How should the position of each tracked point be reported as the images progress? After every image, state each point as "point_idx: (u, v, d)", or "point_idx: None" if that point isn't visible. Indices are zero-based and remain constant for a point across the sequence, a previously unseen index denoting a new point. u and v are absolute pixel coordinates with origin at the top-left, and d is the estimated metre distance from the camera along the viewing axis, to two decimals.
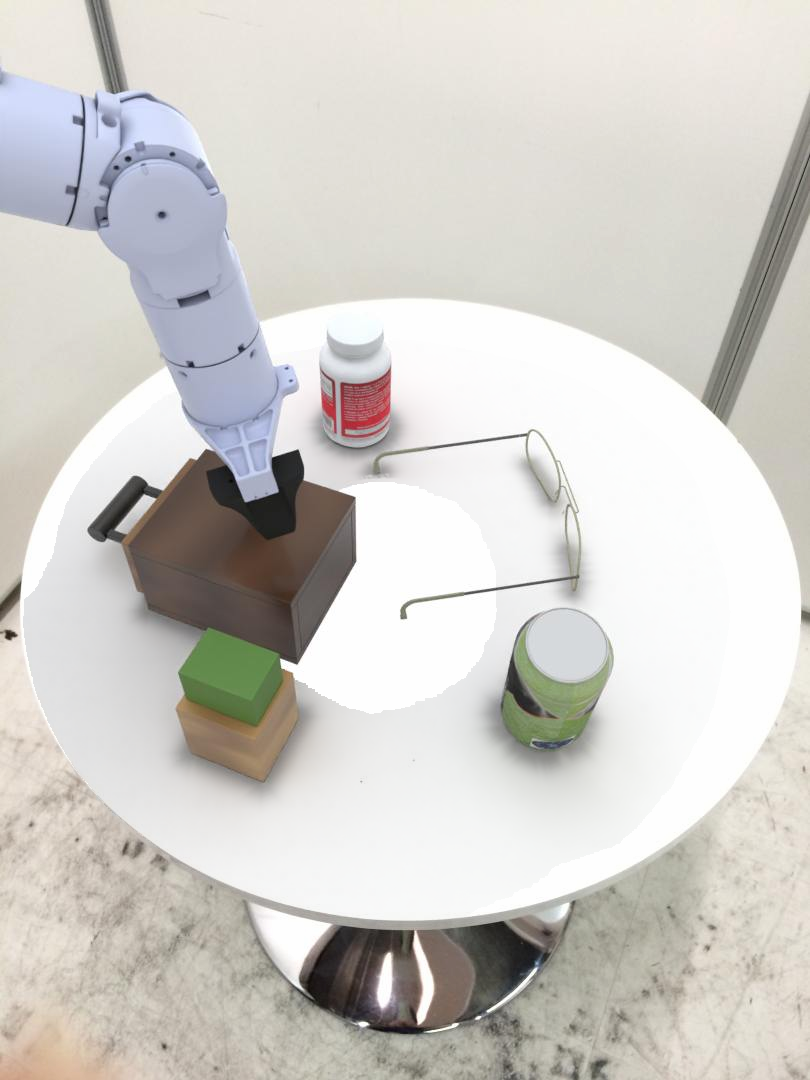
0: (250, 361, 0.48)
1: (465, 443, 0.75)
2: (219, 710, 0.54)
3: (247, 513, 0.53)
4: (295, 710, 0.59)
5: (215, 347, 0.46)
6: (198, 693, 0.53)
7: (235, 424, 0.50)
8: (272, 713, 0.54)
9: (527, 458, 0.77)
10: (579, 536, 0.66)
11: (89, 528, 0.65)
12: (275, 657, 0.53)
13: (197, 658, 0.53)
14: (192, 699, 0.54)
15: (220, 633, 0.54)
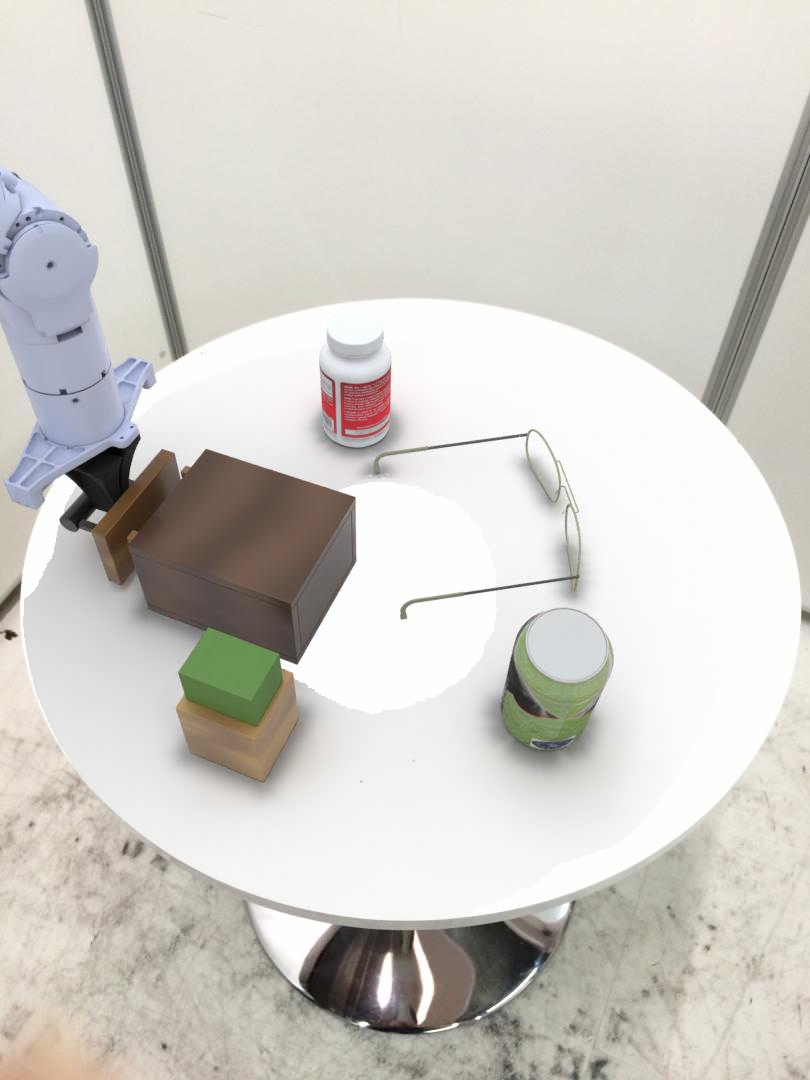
0: (70, 405, 0.56)
1: (465, 443, 0.75)
2: (219, 710, 0.54)
3: (72, 478, 0.64)
4: (295, 710, 0.59)
5: (85, 374, 0.55)
6: (198, 693, 0.53)
7: (54, 442, 0.59)
8: (272, 713, 0.54)
9: (527, 458, 0.77)
10: (579, 536, 0.66)
11: (61, 518, 0.66)
12: (275, 657, 0.53)
13: (197, 658, 0.53)
14: (192, 699, 0.54)
15: (220, 633, 0.54)
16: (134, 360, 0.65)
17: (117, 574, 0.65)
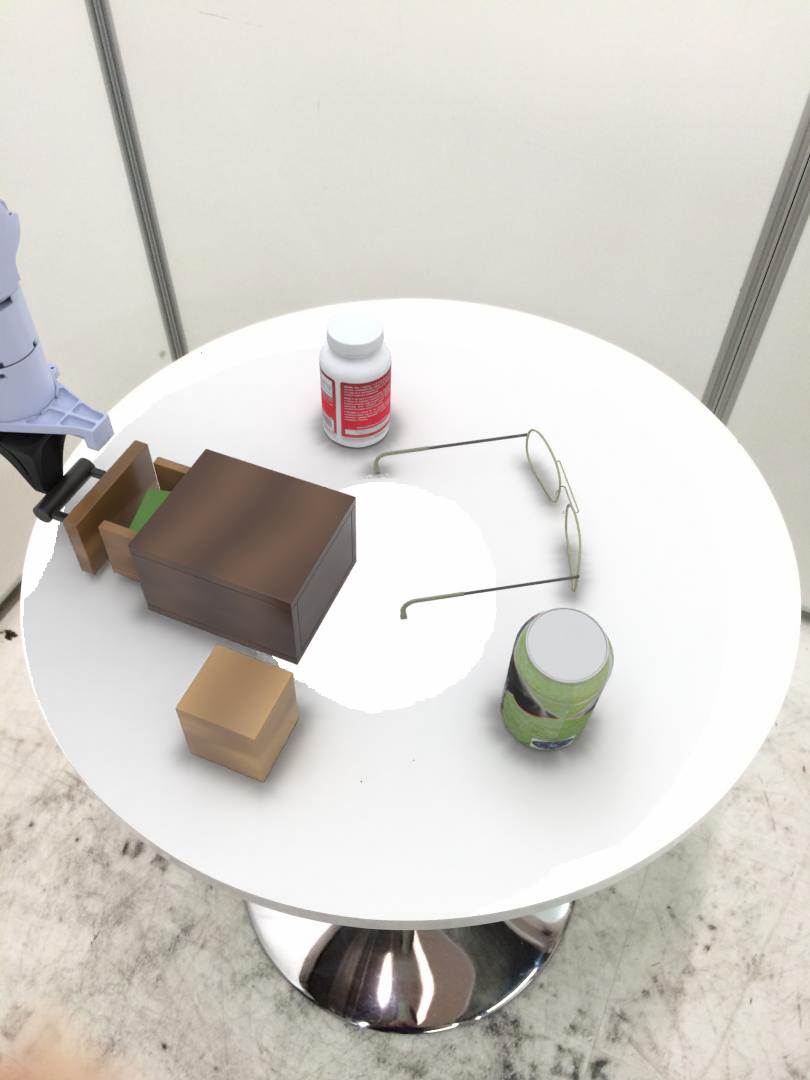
0: (41, 349, 0.60)
1: (465, 443, 0.75)
2: None
3: (40, 465, 0.65)
4: (295, 710, 0.59)
5: (19, 345, 0.57)
6: None
7: (45, 407, 0.61)
8: (272, 713, 0.54)
9: (527, 457, 0.77)
10: (579, 536, 0.66)
11: (34, 508, 0.66)
12: None
13: (162, 495, 0.66)
14: None
15: None
16: None
17: (89, 564, 0.66)
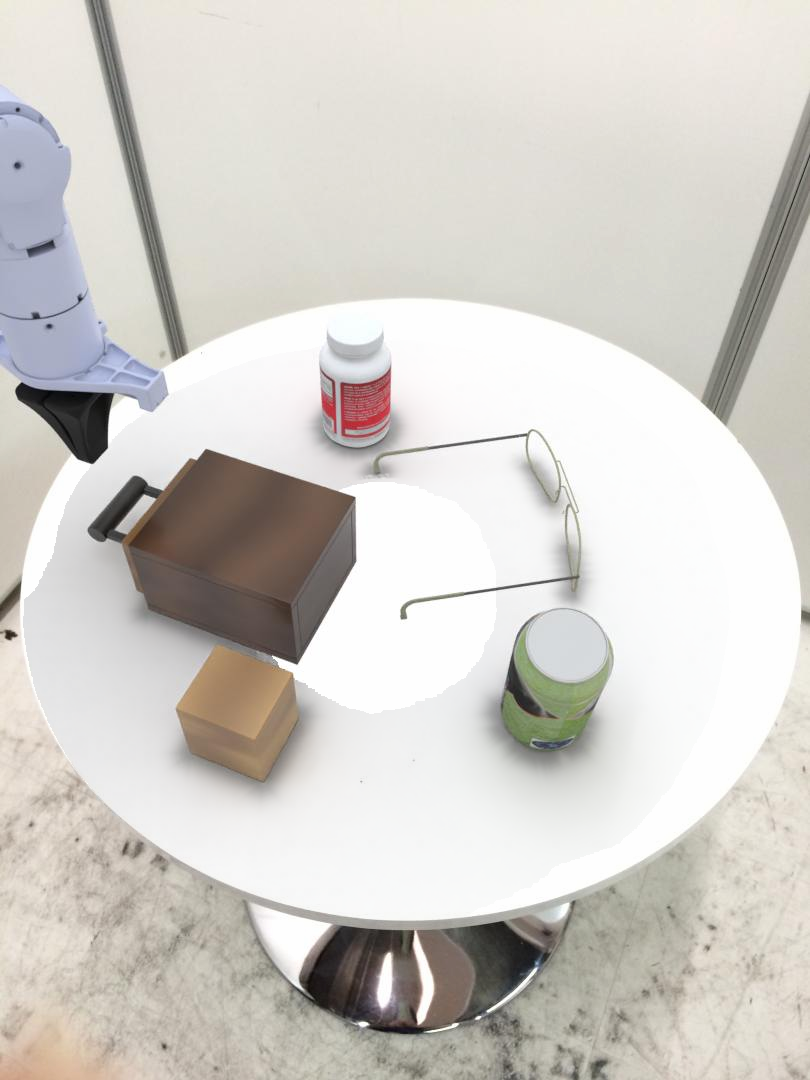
0: (91, 298, 0.54)
1: (465, 443, 0.75)
2: None
3: (86, 430, 0.59)
4: (295, 710, 0.59)
5: (59, 296, 0.51)
6: None
7: (94, 364, 0.56)
8: (272, 713, 0.54)
9: (527, 457, 0.77)
10: (579, 536, 0.66)
11: (89, 528, 0.65)
12: None
13: None
14: None
15: None
16: None
17: None
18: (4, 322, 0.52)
